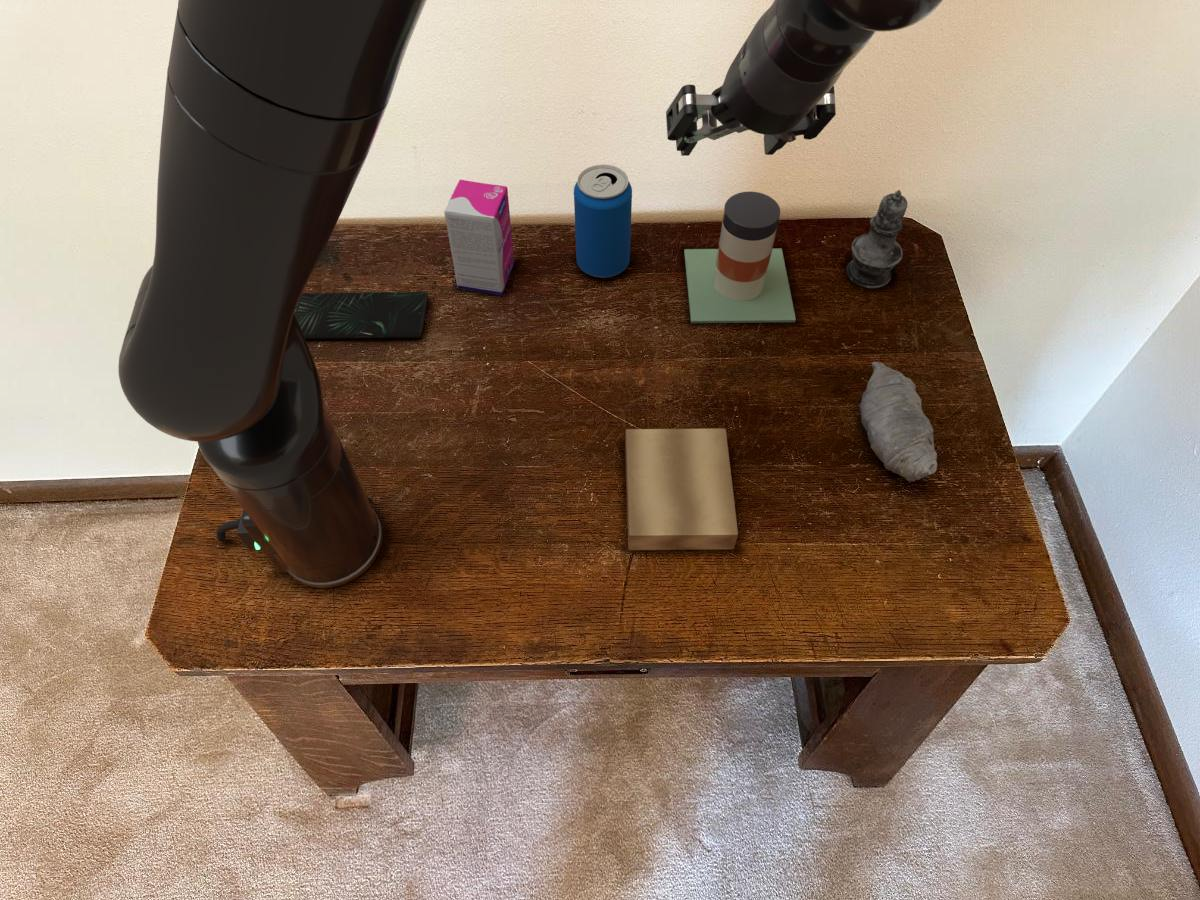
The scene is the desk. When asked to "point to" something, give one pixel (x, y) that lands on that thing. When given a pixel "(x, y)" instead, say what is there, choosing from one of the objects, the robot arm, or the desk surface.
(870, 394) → the grey oval lump
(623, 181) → the beverage can
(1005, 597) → the desk surface
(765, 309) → the mat
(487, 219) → the supplement box
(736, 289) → the jar
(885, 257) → the grey tiered tall piece
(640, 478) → the stand
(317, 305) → the smartphone
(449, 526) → the desk surface
